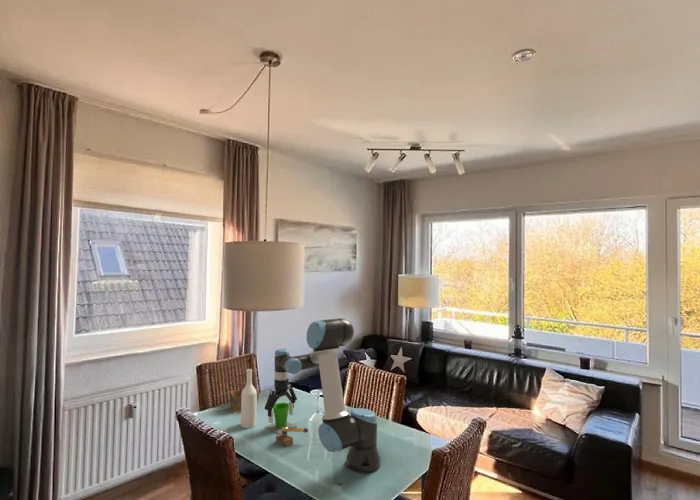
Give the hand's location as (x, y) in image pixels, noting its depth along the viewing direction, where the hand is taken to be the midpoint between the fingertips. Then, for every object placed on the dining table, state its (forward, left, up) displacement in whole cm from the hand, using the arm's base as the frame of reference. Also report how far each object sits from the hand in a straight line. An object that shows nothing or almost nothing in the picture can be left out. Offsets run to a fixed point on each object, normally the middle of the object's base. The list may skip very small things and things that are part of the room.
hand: (281, 418), depth 209 cm
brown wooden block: (-15, +10, -5) cm, 19 cm away
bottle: (+15, +10, -5) cm, 19 cm away
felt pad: (0, 0, -5) cm, 5 cm away
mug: (+36, -1, -5) cm, 36 cm away
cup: (0, 0, -4) cm, 4 cm away
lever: (-18, +6, 0) cm, 19 cm away
